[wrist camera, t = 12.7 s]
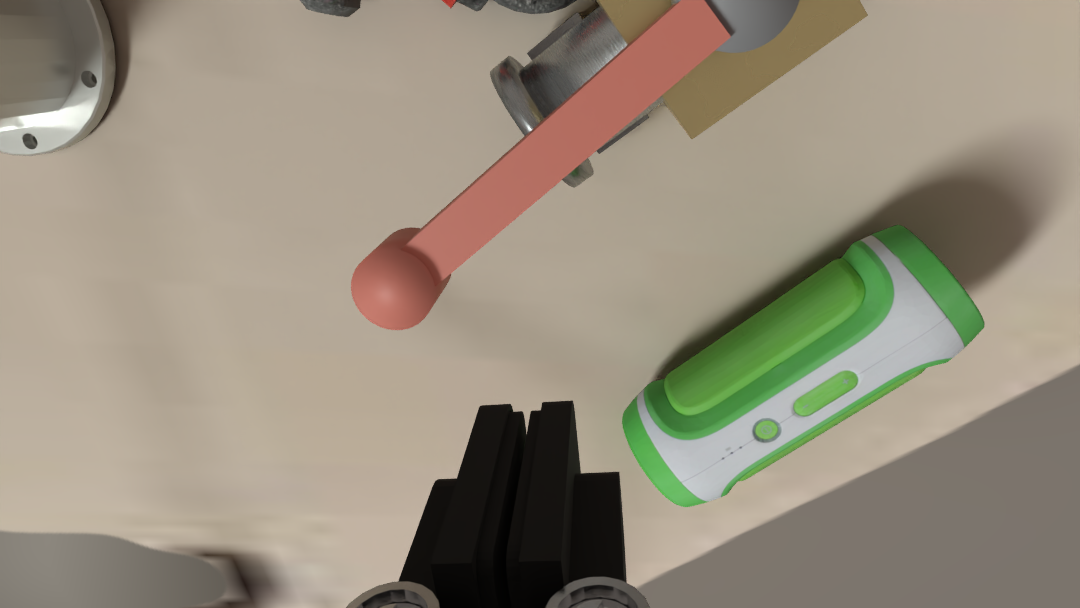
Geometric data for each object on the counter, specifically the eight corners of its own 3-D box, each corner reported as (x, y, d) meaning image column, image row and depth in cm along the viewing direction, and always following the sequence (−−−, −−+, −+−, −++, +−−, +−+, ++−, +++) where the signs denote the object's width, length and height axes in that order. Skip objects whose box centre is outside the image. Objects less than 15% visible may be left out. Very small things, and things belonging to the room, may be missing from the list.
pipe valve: (582, 171, 37) (571, 223, 27) (503, 62, 35) (460, 74, 25) (895, -58, 32) (1029, -99, 22) (820, -198, 30) (926, -315, 20)
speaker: (686, 462, 44) (701, 544, 37) (614, 382, 42) (615, 452, 35) (944, 300, 38) (1019, 360, 31) (872, 201, 36) (934, 240, 30)
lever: (361, 250, 28) (328, 280, 25) (737, -92, 22) (759, -114, 19) (422, 314, 29) (398, 350, 25) (800, -2, 23) (832, -7, 20)
